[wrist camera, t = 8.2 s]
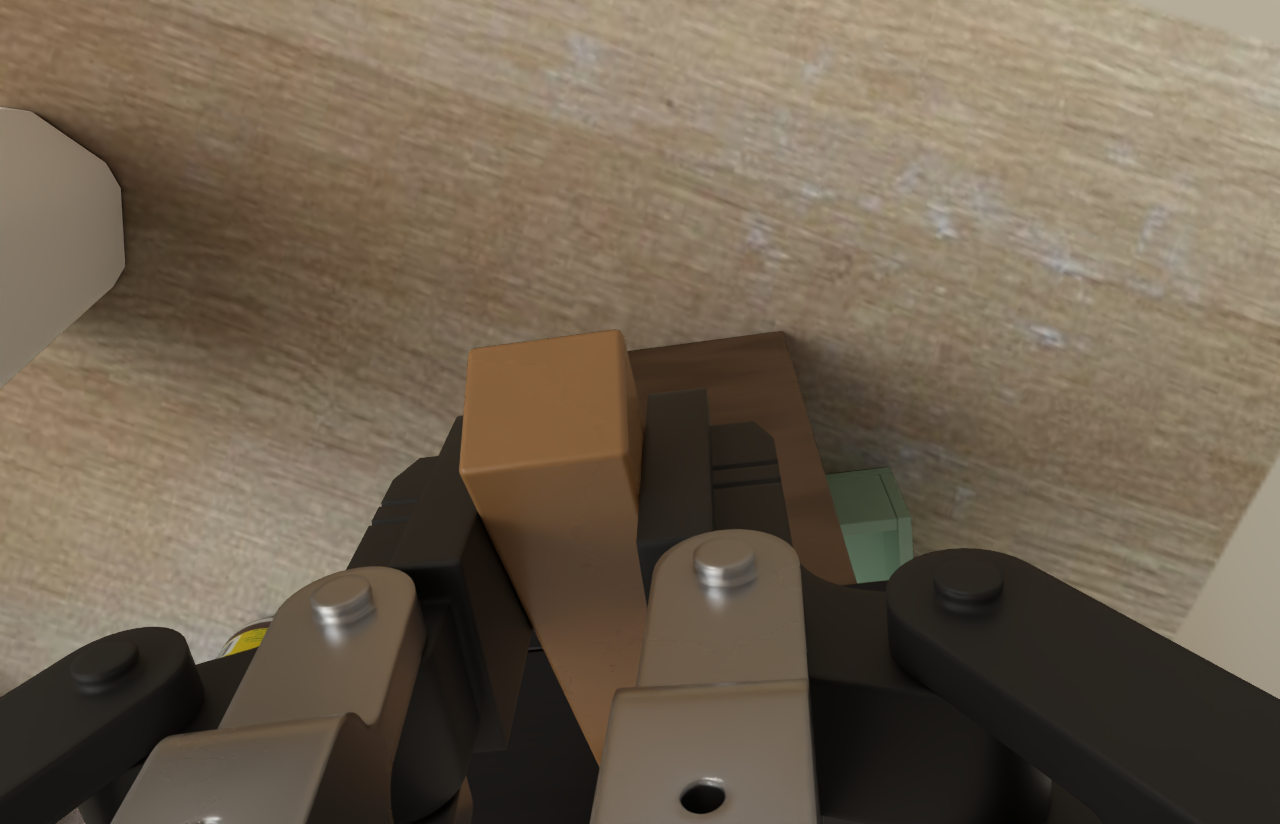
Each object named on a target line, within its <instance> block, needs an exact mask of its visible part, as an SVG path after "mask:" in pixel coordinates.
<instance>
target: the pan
mask: <svg viewBox="0 0 1280 824" xmlns="http://www.w3.org/2000/svg"><path fill="white" fill-rule="evenodd" d="M644 437H645V426H644V421H643V417H642V413H641V408H640V404H639V400H638V395H637V391H636V387H635V382H634V378H633V374H632V369H631V365H630V361H629V356H628V352H627V348H626V343H625V339H624V336H623V334H622V333H621V331H620V330H607V331H600V332H592V333H585V334H577V335H570V336H562V337H555V338H547V339H540V340H532V341H525V342H517V343H509V344H502V345H494V346H487V347H479V348H474V349H472V350H470V352H469V355H468V365H467V377H466V390H465V402H464V415H463V427H462V440H461V452H460V464H459V473H460V475H461V477H462V480H463V482H464V484H465V486H466V488H467V490H468V492H469V494H470V496H471V498H472V501H473V503H474V505H475V507H476V509H477V511H478V513H479V515H480V517H481V519H482V522H483V524H484V526H485V528H486V530H487V532H488V534H489V536H490V538H491V540H492V543H493V545H494V547H495V549H496V551H497V553H498V555H499V557H500V559H501V561H502V564H503V566H504V568H505V570H506V572H507V574H508V576H509V578H510V580H511V582H512V585H513V587H514V589H515V591H516V593H517V595H518V597H519V599H520V601H521V603H522V606H523V608H524V610H525V612H526V614H527V616H528V618H529V620H530V622H531V624H532V627H533V630H532V634H531V639H530V644H529V648H528V653H527V658H526V662H525V667H524V672H523V676H522V681H521V686H520V690H519V695H518V700H517V704H516V709H515V714H514V718H513V723H512V728H511V732H510V737H509V742H508V746H507V750H502V751H491V752H479V753H472V756H471V760H470V763H469V767H468V771H467V774H466V777H467V780H468V784H469V788H470V791H471V795H472V800H473V812H472V818H471V824H590V819H591V813H592V808H593V802H594V797H595V791H596V786H597V780H598V775H599V769H600V763H601V758H602V752H603V747H604V741H605V736H606V730H607V725H608V719H609V714H610V708H611V703H612V699H613V696H614V693H615V691H616V690H617V689H618V688H624V687H635V686H636V680H637V673H638V666H639V660H640V653H641V647H642V640H643V634H644V627H645V621H646V614H647V605H646V599H645V593H644V587H643V581H642V575H641V569H640V563H639V557H638V551H637V545H636V539H637V526H638V513H639V501H640V488H641V475H642V463H643V450H644ZM888 581H889V580H884V581H875V582H865V583H856V584H847V585H841V586H845V587H849V588H855V589H862V590H871V591H881V592H886V586H887V583H888ZM823 819H824V824H864V823H858V822H853V821H848V820H843V819H837V818H832V817H827V816H823Z"/></svg>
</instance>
